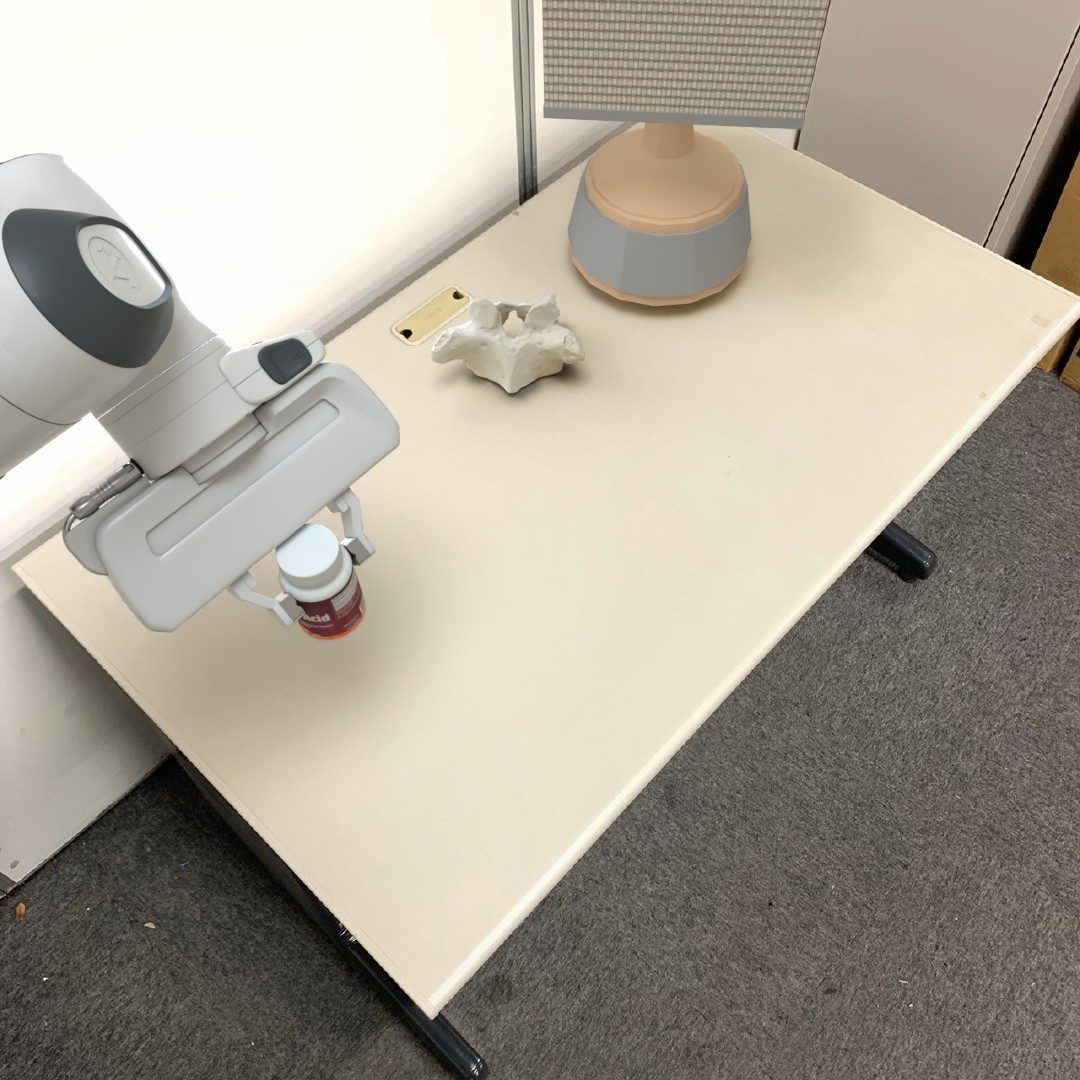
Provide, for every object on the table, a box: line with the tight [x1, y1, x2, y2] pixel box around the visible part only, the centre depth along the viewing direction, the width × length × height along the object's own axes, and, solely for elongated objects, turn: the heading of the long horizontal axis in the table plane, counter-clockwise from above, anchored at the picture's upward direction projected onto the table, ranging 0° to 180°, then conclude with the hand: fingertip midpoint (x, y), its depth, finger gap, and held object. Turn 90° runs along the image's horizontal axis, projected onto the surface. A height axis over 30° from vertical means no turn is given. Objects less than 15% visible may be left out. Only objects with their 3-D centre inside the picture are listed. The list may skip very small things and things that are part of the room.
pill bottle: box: [274, 522, 367, 644], centre depth 66 cm, size 5×5×8 cm
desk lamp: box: [541, 0, 830, 307], centre depth 91 cm, size 22×19×37 cm
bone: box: [430, 292, 586, 394], centre depth 94 cm, size 9×14×8 cm, turn 104°
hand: (331, 589), depth 65 cm, fingers closed on pill bottle, 5 cm apart
